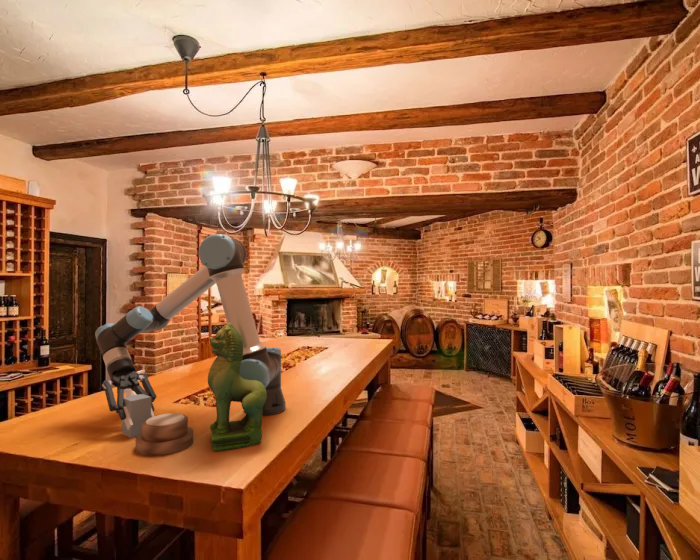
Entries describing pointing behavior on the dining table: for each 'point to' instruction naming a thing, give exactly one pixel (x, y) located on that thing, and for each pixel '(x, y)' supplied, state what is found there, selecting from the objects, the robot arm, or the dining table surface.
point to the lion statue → (234, 394)
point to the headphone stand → (128, 391)
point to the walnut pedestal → (164, 435)
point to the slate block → (136, 413)
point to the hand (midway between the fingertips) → (141, 424)
